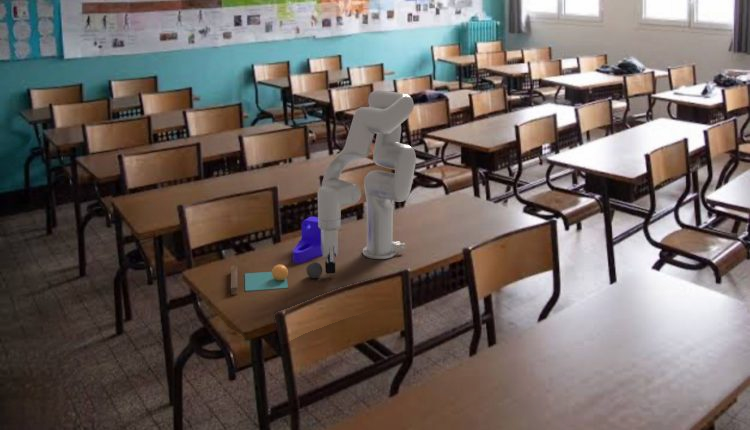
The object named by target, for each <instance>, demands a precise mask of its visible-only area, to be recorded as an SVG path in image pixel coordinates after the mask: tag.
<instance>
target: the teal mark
mask: <svg viewBox="0 0 750 430" xmlns="http://www.w3.org/2000/svg"><path fill="white" fill-rule="evenodd" d="M283 289H289V285H288V278H287V277H286V279H284V280H282V281H278V280H276V279H274V278H273V276H272V271H263V272H262V271H261V272H251V273H250V272H249V273H247V272H246V273H244V290H245V292H253V291H265V290H283Z"/></svg>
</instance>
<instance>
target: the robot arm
mask: <svg viewBox="0 0 750 430" xmlns="http://www.w3.org/2000/svg"><path fill="white" fill-rule="evenodd" d="M367 100H368V106H361V107H359V108H357V109H356V110H355V112H354V114H353V118H352V121H351V125H350V127H349V131H348V133H347V138H346V141H345V144H344V146H343V149H342V150H341V151H340V152H339V153H337V154H336V156H334V157H333V159H331V161H330V162H329V163H328V165H327V167H326V168H325V172H324V175H323V179H322V182H321V186H320V187H318V190H317V217H318V227H319V228H320V229H321V252H322V255H321V256H322V257H323V258H324V259H325V263H324V264H325V265H324V266H325V268H324V269H325V274H328V275H329V274H336V258H338V251H339V249H338V248H339V247H338V246H339V244H338V242H339V241H338V240H339V239H338V238H339V237H338V236H339V235H338V232H339V231H338V229H341V227H342V226H341V225H342V223H341V222H342V221H341V219H342V218H341V216H342V215H341V214H342V213H341V209H342V208H341V207H345V206H351V205H352V206H353V205H354V204H356V203H357V202H358V201H360V199H361V197H362V188H361V187H360V186H359V185H358V184H357V183H355V182H350V181H347V180H344V179H340V176H341V173H342V172H343V170H345V168H346V167H347V166H349V165H350V164H352V163H354V162H357V161H361V160H362V159H366V158H367V157H368V156H369V155H370V150H371V146H372V143H373V140H374V137H375V134H376V138H375V141H374V142H375V143H374V149H373V157H372V159H373V162H374V164H375V165H376V166H379V167H382V168H386V169H390V170H394V173H393V172H389V171H385V170H381V169H377V170H376V169H375V170H371V171H369V172H368V173H367V174H366V175H365V177H364V179H363V180H364V181H363V188H364V192H365V193H364V194H365V200H366V246H364V247H363V248H362V254H363V256H364V257H366V258H369V259H372V260H373V259H375V260H386V259H391V258H393V257H395V256H396V255H397V250H398V249H406V243H405V242H402V243H401V241H394V240H393V236H394V235H393V234H394V233H393V231H394V230H393V229H394V227H393V221H394V219H393V218H394V217H393V216H394V210H393V209H394V208H393V203H392V201H393V202H396V203H397V202H400V203H401V202H404V201H406V200H407V199H408V197H409V195H410V193H411V190H412V185H413V178H414V174H415V169H416V161H417V156H416V155H417V154H416V152H415V149H414V148H413V147H412V146H410V144H405V143H401V142H400V141H401V134H402V125H401V124H402V123H404V122H405V121H406V120H407V119H409V117H411V114H412V112H413V109H414V100H413V97H411V95H409V94H407V93H403V92H396V91H390V90H380V89H379V90H374V91H371V92H370V94H369V95H368V99H367Z"/></svg>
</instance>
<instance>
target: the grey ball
mask: <svg viewBox="0 0 750 430" xmlns="http://www.w3.org/2000/svg"><path fill="white" fill-rule="evenodd" d="M305 271H306V275H307V276H308V277H309V278H311V279H317V278H319V277H320V276H322V274H323V266H322V265H321V264H320V263H318V262H316V261H314V262H310V263H309V264H308V265H307V266H306V269H305Z"/></svg>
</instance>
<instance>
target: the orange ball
mask: <svg viewBox="0 0 750 430" xmlns="http://www.w3.org/2000/svg"><path fill="white" fill-rule="evenodd" d="M271 272H272V276H273V278H274V279H276V280H278V281H282V280H284V279H286V278H287V277H288V275H289V269H288V267H286V266H285V264H276V265H275V266H273V268H272V270H271Z"/></svg>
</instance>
